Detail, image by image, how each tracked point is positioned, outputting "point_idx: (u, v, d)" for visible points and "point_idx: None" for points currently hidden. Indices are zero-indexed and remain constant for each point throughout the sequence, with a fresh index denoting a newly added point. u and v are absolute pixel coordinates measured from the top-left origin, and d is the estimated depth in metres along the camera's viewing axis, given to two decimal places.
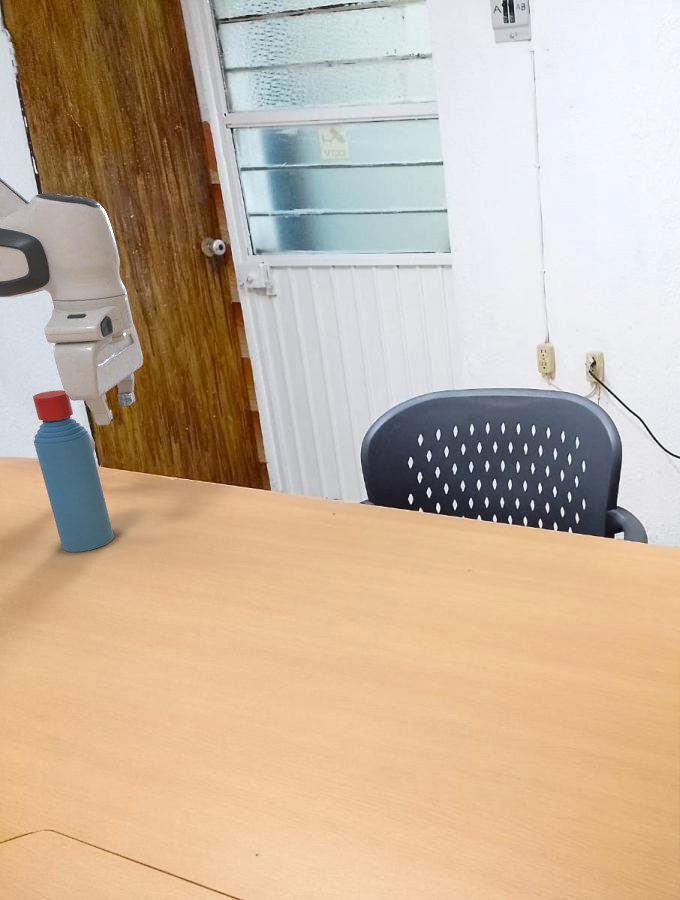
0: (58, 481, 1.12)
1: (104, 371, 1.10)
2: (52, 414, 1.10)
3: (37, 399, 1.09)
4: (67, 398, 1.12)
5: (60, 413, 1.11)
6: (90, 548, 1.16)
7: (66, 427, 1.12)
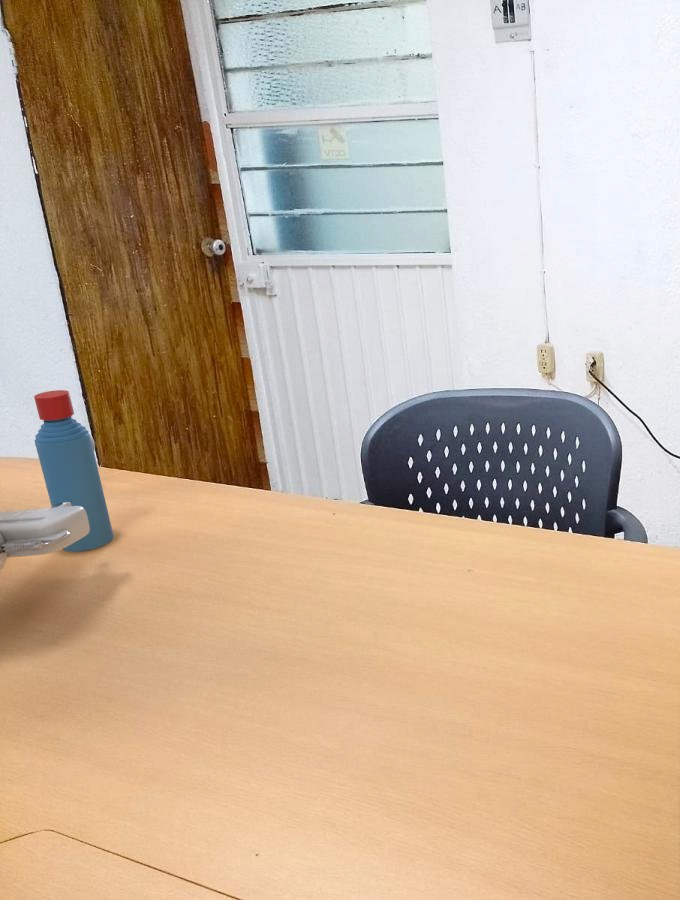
0: (59, 481, 1.12)
1: None
2: (53, 414, 1.10)
3: (38, 399, 1.09)
4: (68, 398, 1.12)
5: (61, 413, 1.11)
6: (90, 548, 1.16)
7: (67, 427, 1.12)
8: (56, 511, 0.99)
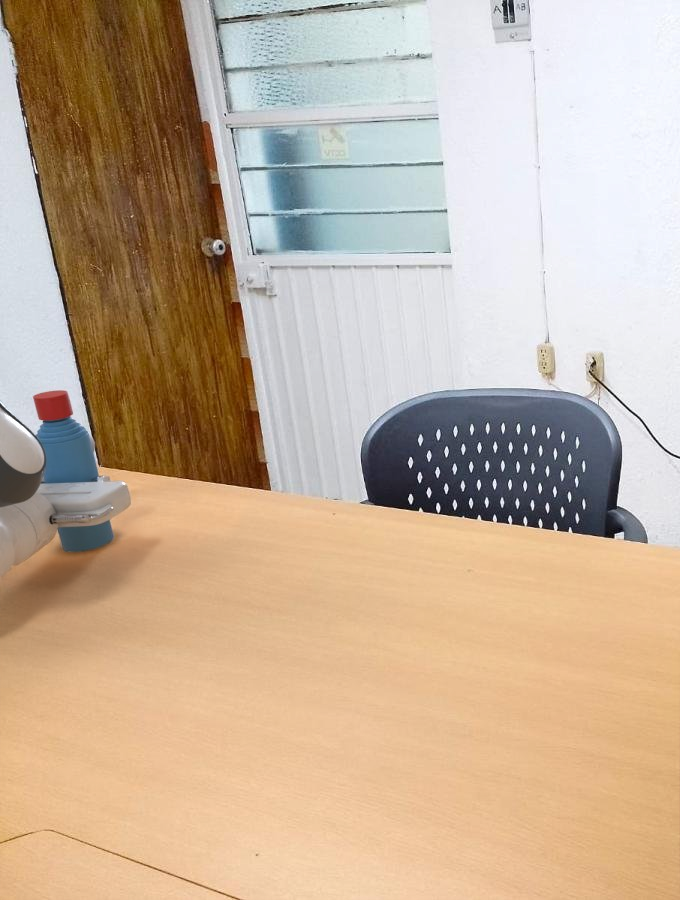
0: (59, 481, 1.12)
1: None
2: (52, 414, 1.10)
3: (37, 399, 1.09)
4: (67, 398, 1.12)
5: (60, 413, 1.11)
6: (90, 548, 1.16)
7: (66, 427, 1.12)
8: (102, 485, 1.10)
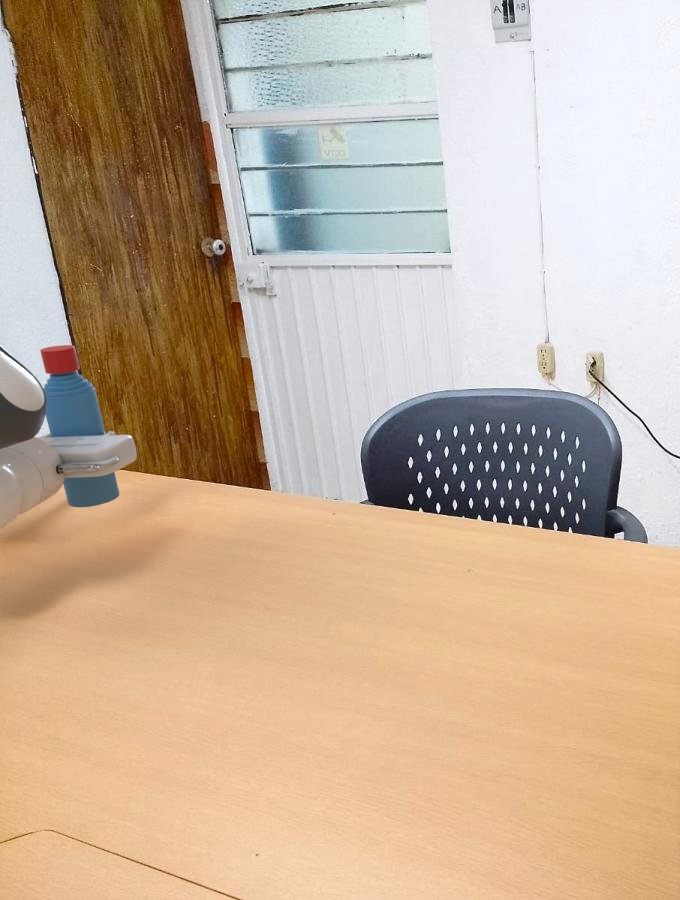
0: (65, 435, 1.13)
1: None
2: (59, 368, 1.11)
3: (44, 352, 1.10)
4: (74, 352, 1.12)
5: (67, 367, 1.11)
6: (96, 503, 1.16)
7: (73, 381, 1.12)
8: (108, 438, 1.10)
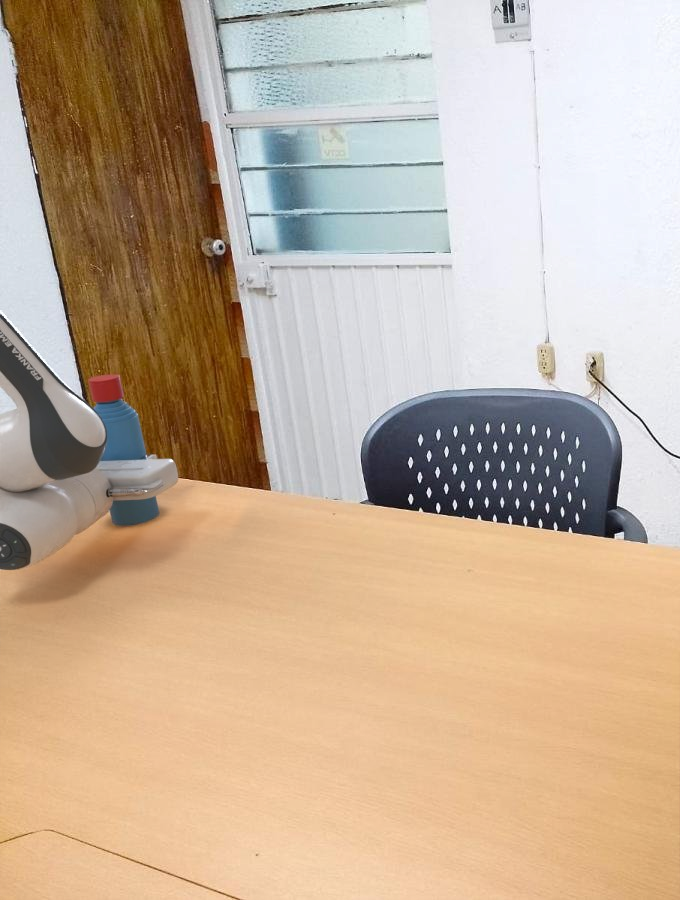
0: (111, 459, 1.20)
1: None
2: (105, 396, 1.18)
3: (92, 382, 1.17)
4: (119, 381, 1.20)
5: (113, 395, 1.19)
6: (139, 522, 1.24)
7: (118, 408, 1.20)
8: (152, 462, 1.18)
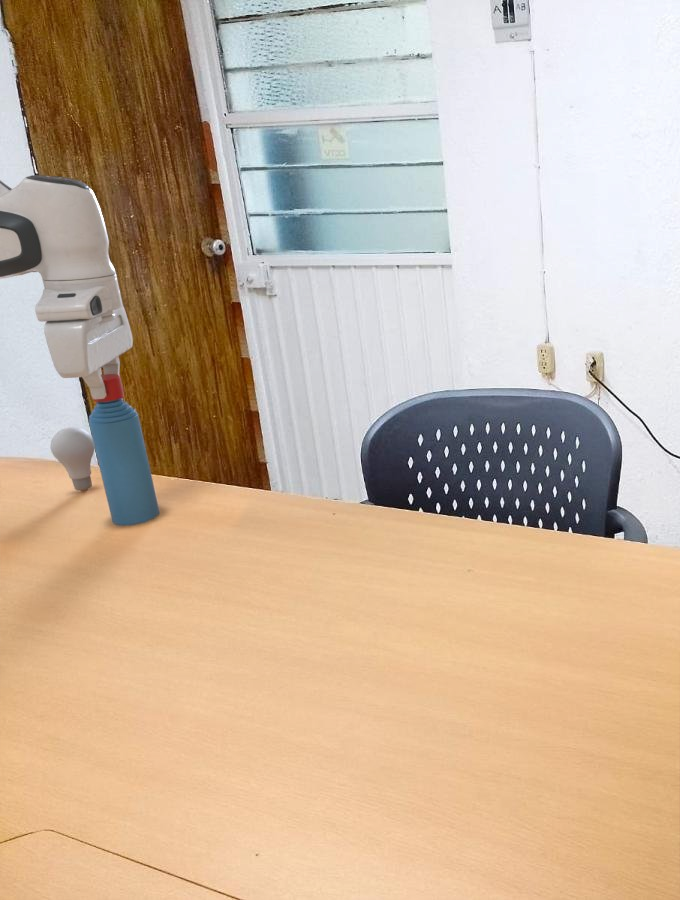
0: (111, 459, 1.20)
1: (94, 350, 1.12)
2: None
3: None
4: (119, 381, 1.20)
5: (113, 395, 1.19)
6: (139, 522, 1.24)
7: (119, 408, 1.20)
8: None
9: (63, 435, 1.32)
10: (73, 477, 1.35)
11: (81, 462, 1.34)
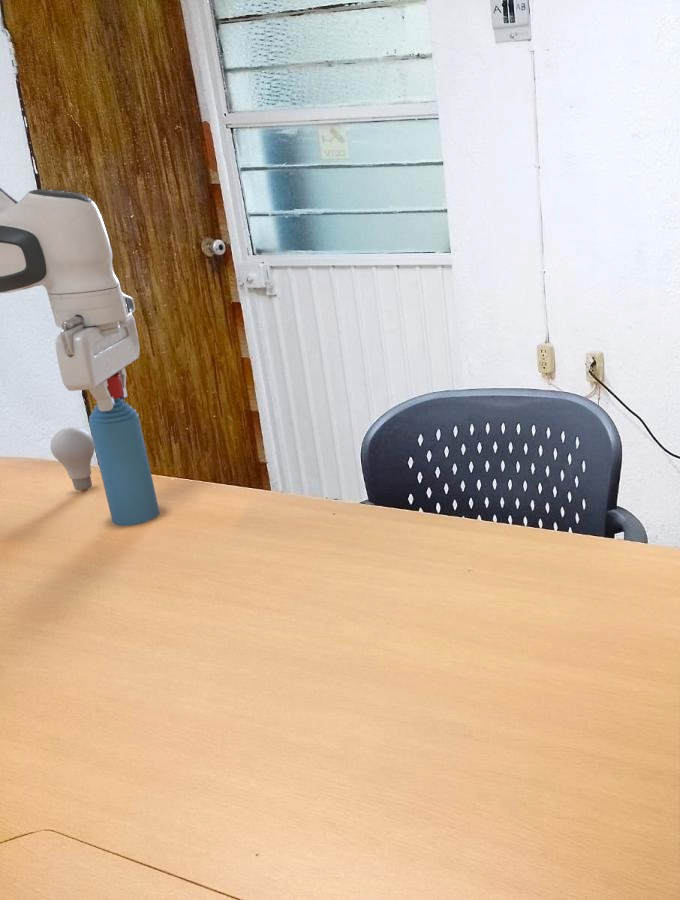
0: (111, 459, 1.20)
1: None
2: None
3: (115, 374, 1.21)
4: None
5: None
6: (139, 522, 1.24)
7: (119, 408, 1.20)
8: (96, 370, 1.12)
9: (63, 435, 1.32)
10: (73, 477, 1.35)
11: (81, 462, 1.34)
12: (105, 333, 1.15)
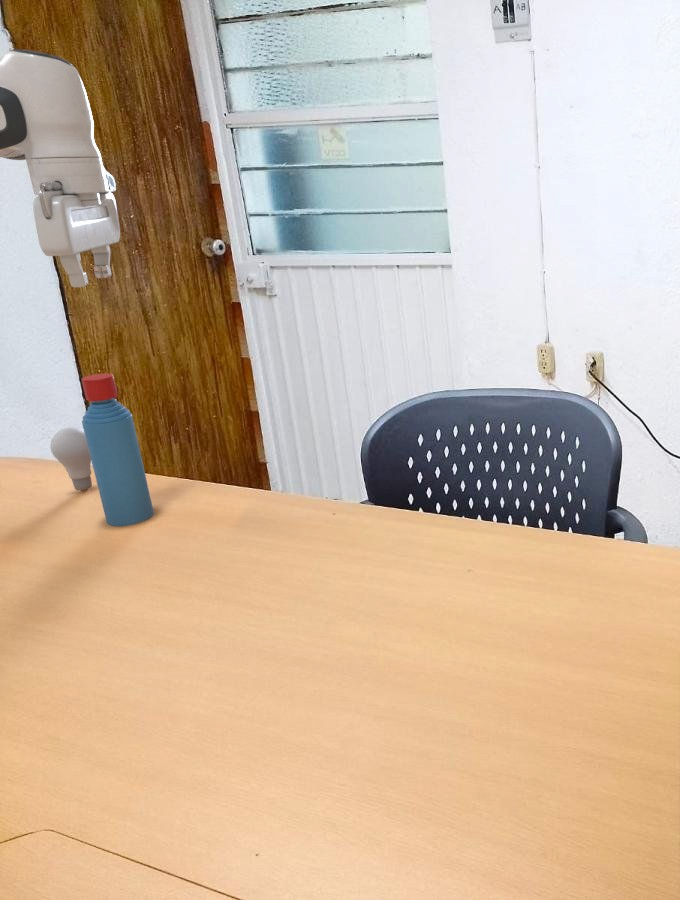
0: (105, 460, 1.20)
1: None
2: None
3: None
4: None
5: None
6: (133, 523, 1.24)
7: (112, 409, 1.20)
8: (75, 237, 1.10)
9: (63, 435, 1.32)
10: (73, 477, 1.35)
11: (81, 462, 1.34)
12: (84, 204, 1.13)
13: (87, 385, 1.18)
